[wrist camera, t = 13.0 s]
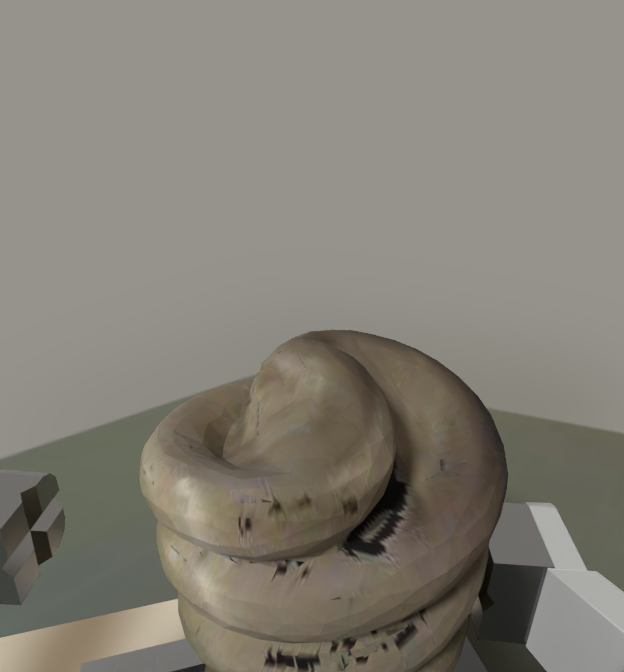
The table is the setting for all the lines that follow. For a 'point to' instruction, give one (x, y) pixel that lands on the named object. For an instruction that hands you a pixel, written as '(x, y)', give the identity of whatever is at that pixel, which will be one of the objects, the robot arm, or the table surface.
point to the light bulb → (328, 509)
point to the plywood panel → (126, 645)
